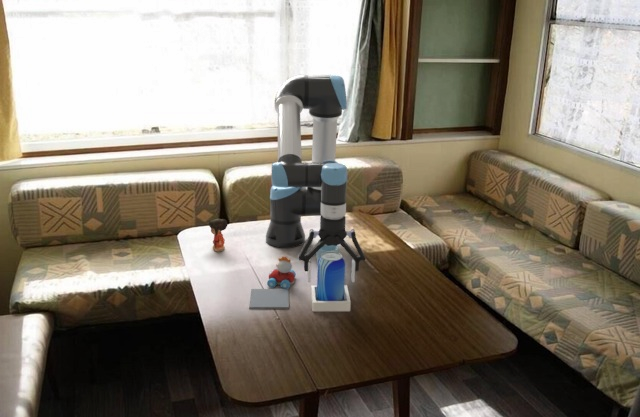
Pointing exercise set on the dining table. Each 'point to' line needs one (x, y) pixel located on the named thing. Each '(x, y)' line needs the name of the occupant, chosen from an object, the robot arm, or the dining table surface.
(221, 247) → the figurine
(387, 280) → the dining table surface
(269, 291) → the mat
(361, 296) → the dining table surface
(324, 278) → the beer can
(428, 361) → the dining table surface
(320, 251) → the cup
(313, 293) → the pocket
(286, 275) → the toy car
